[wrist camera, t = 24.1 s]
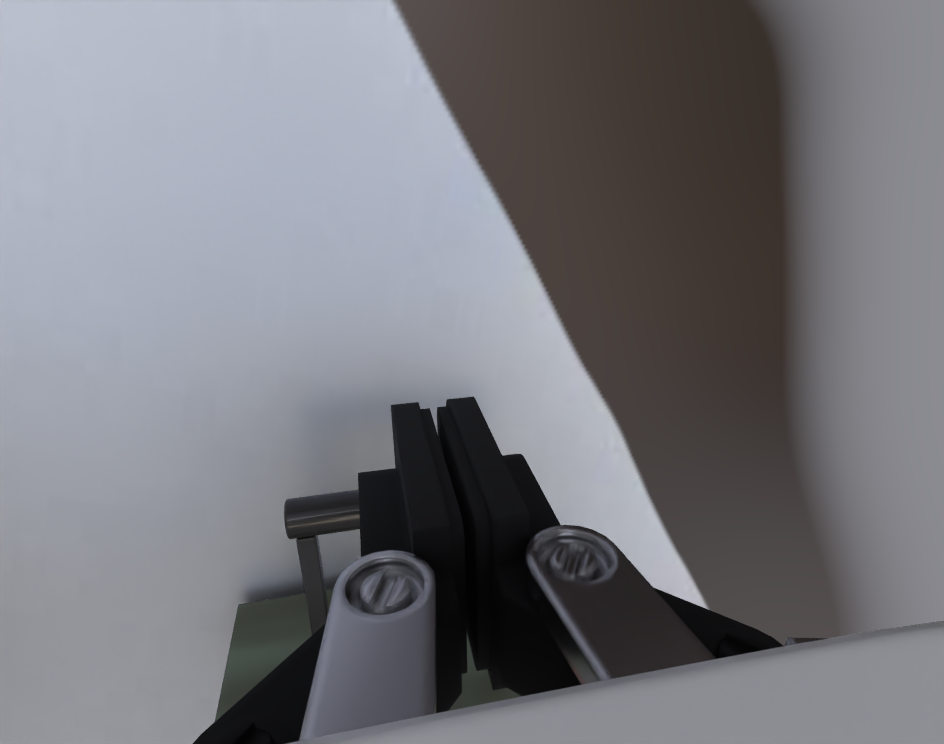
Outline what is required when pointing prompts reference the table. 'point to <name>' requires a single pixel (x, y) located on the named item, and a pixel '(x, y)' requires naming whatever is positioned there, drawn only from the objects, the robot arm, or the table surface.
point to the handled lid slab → (310, 608)
